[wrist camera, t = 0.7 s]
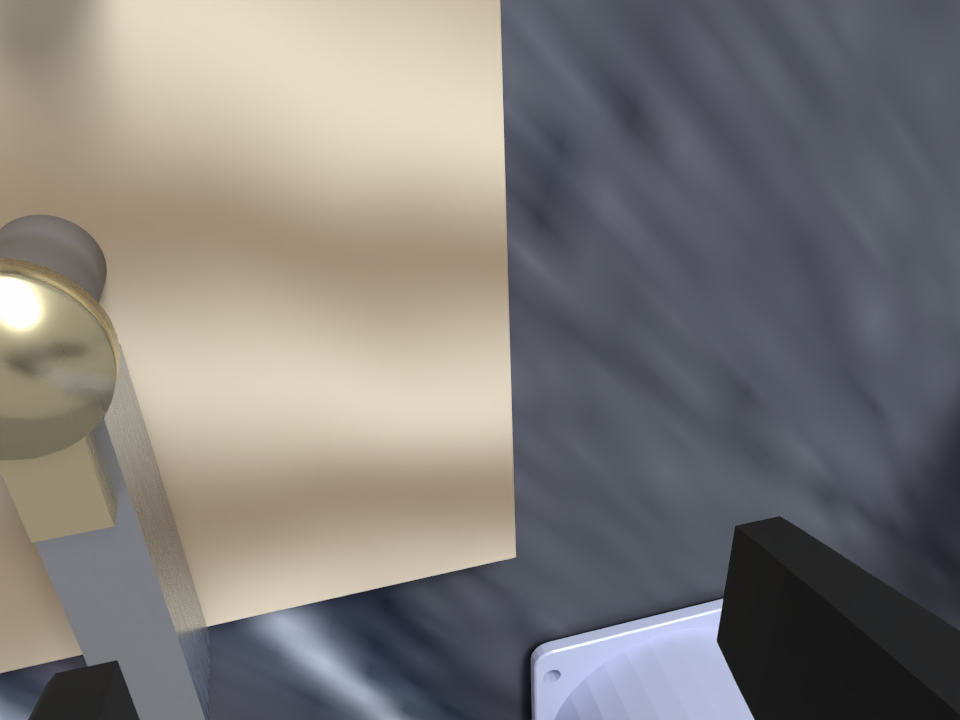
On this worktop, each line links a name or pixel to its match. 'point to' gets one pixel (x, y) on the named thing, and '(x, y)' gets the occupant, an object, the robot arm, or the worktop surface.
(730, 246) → the worktop surface
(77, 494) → the lock bar
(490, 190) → the jamb board
